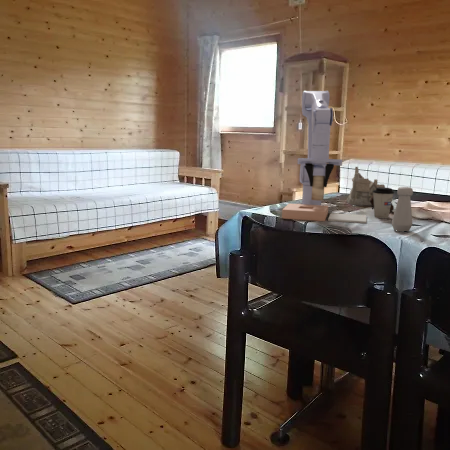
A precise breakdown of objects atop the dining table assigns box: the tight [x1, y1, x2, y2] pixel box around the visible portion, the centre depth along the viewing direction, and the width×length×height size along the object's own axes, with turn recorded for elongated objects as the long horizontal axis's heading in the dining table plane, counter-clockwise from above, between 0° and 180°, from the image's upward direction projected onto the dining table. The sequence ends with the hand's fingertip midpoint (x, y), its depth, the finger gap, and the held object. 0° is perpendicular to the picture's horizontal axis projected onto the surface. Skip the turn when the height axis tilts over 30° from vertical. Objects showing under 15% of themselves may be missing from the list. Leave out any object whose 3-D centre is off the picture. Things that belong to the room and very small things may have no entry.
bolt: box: [370, 196, 395, 213], centre depth 175 cm, size 6×5×15 cm
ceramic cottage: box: [346, 166, 386, 206], centre depth 191 cm, size 16×16×15 cm
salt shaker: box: [391, 186, 414, 232], centre depth 137 cm, size 6×6×13 cm
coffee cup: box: [373, 186, 395, 219], centre depth 159 cm, size 7×7×10 cm
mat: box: [327, 212, 367, 224], centre depth 155 cm, size 12×12×1 cm
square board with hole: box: [281, 203, 329, 222], centre depth 159 cm, size 14×14×3 cm
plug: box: [312, 175, 325, 201], centre depth 156 cm, size 4×4×8 cm
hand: (318, 186), depth 156 cm, fingers closed on plug, 4 cm apart
